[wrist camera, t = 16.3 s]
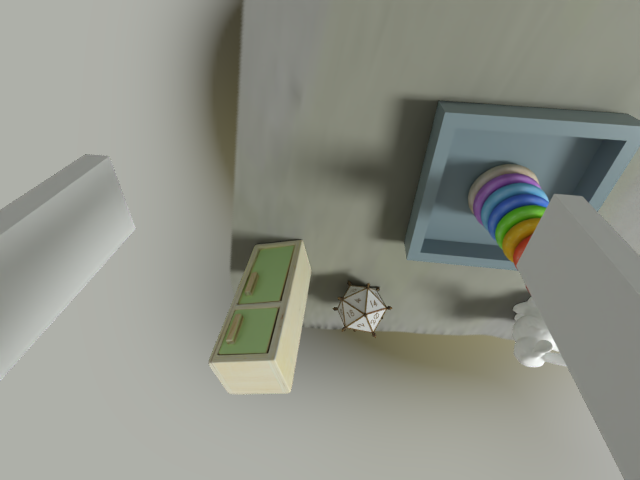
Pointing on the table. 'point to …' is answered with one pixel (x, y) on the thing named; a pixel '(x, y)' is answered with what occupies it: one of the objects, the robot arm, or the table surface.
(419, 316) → the table surface
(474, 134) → the tray
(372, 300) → the game die
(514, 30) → the table surface
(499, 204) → the stacking toy
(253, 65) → the table surface
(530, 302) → the rabbit
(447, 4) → the table surface
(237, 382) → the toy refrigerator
